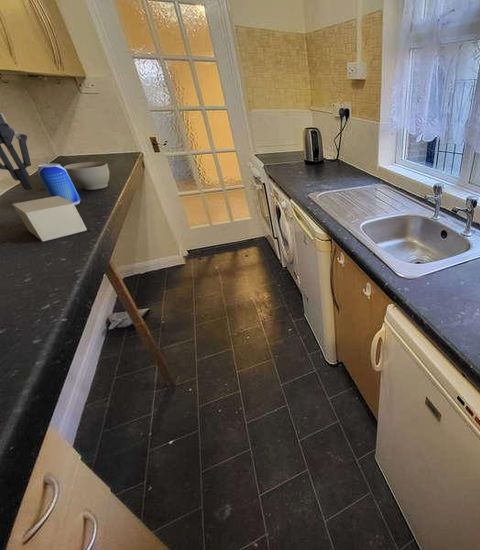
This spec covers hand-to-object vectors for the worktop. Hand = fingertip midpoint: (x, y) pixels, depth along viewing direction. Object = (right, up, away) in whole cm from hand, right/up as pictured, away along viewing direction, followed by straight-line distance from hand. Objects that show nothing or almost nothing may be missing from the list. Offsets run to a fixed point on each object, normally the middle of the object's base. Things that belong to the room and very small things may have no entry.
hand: (28, 189), depth 101 cm
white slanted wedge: (+9, -14, +1) cm, 17 cm away
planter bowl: (-20, +14, +47) cm, 53 cm away
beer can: (-11, +1, +25) cm, 27 cm away
